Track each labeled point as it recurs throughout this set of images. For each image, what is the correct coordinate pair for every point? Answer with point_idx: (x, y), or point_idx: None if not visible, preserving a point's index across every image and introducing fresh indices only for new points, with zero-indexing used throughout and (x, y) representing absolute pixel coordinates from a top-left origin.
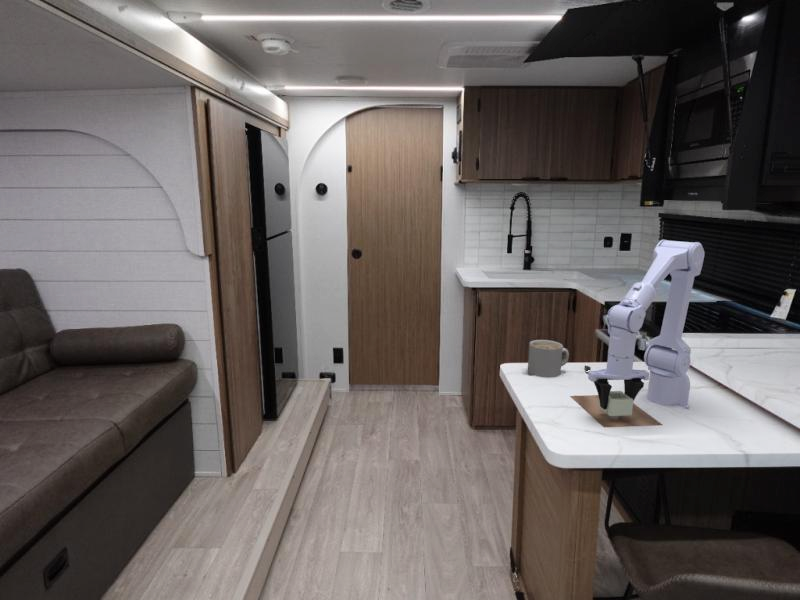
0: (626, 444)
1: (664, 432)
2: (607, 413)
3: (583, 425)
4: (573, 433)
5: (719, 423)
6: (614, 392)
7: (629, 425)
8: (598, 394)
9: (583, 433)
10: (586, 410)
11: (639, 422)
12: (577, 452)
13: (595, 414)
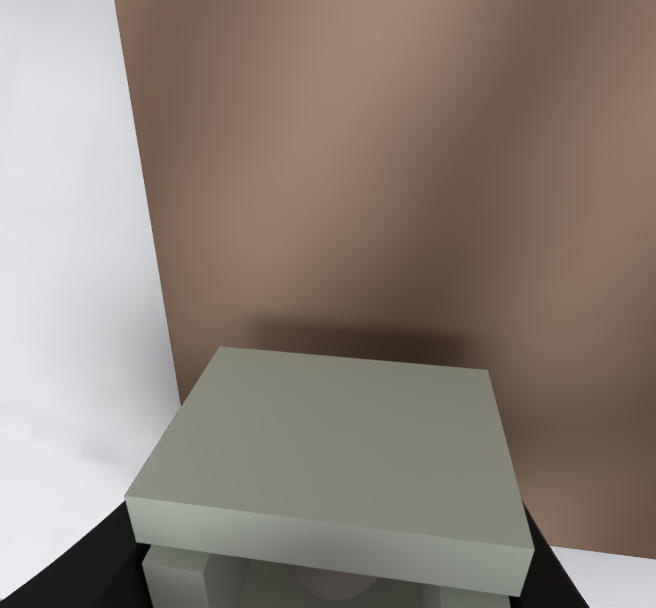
0: None
1: (633, 565)
2: (348, 314)
3: (96, 389)
4: (9, 462)
5: None
6: (355, 571)
7: None
8: (80, 547)
9: (70, 473)
10: (159, 221)
11: (525, 499)
12: (5, 594)
13: (217, 317)
